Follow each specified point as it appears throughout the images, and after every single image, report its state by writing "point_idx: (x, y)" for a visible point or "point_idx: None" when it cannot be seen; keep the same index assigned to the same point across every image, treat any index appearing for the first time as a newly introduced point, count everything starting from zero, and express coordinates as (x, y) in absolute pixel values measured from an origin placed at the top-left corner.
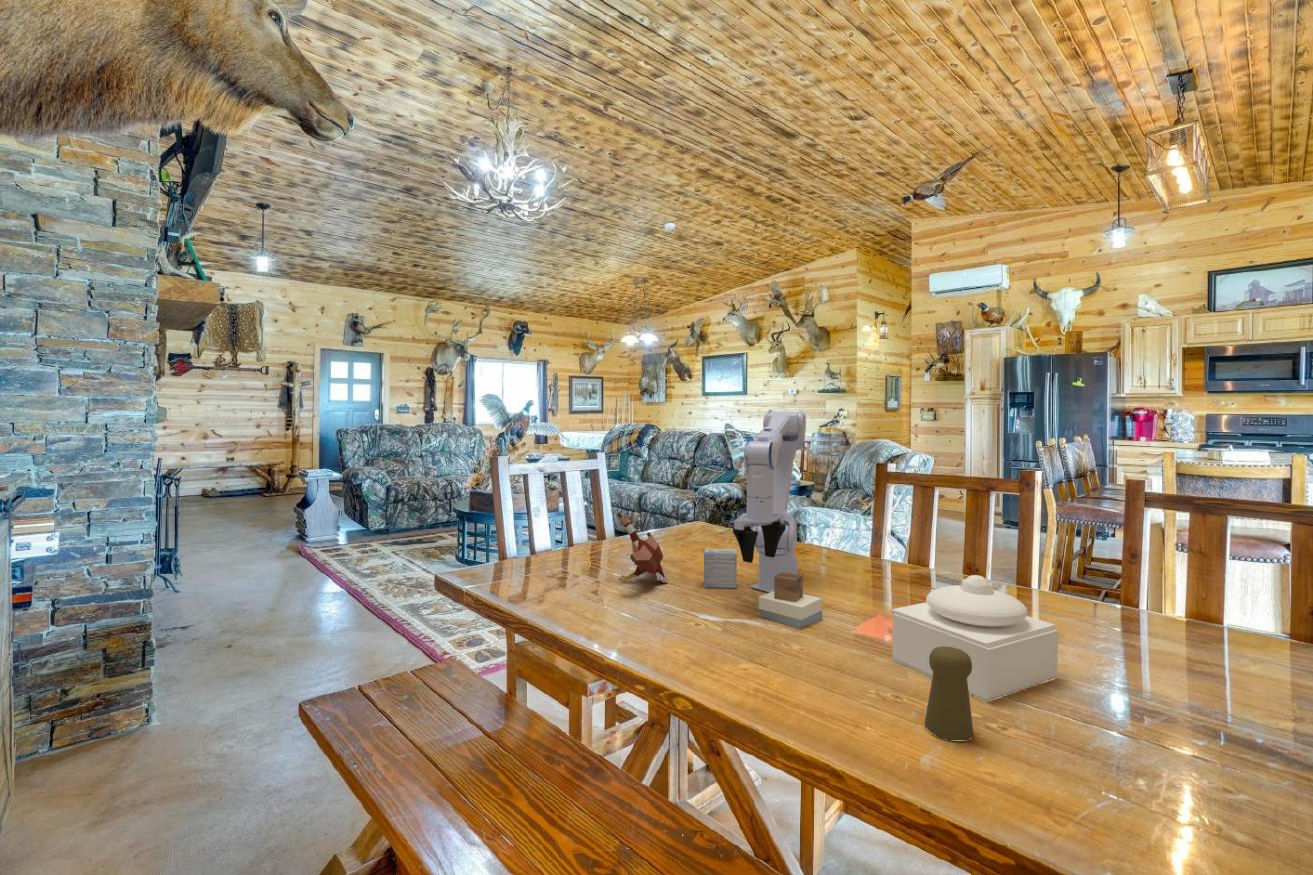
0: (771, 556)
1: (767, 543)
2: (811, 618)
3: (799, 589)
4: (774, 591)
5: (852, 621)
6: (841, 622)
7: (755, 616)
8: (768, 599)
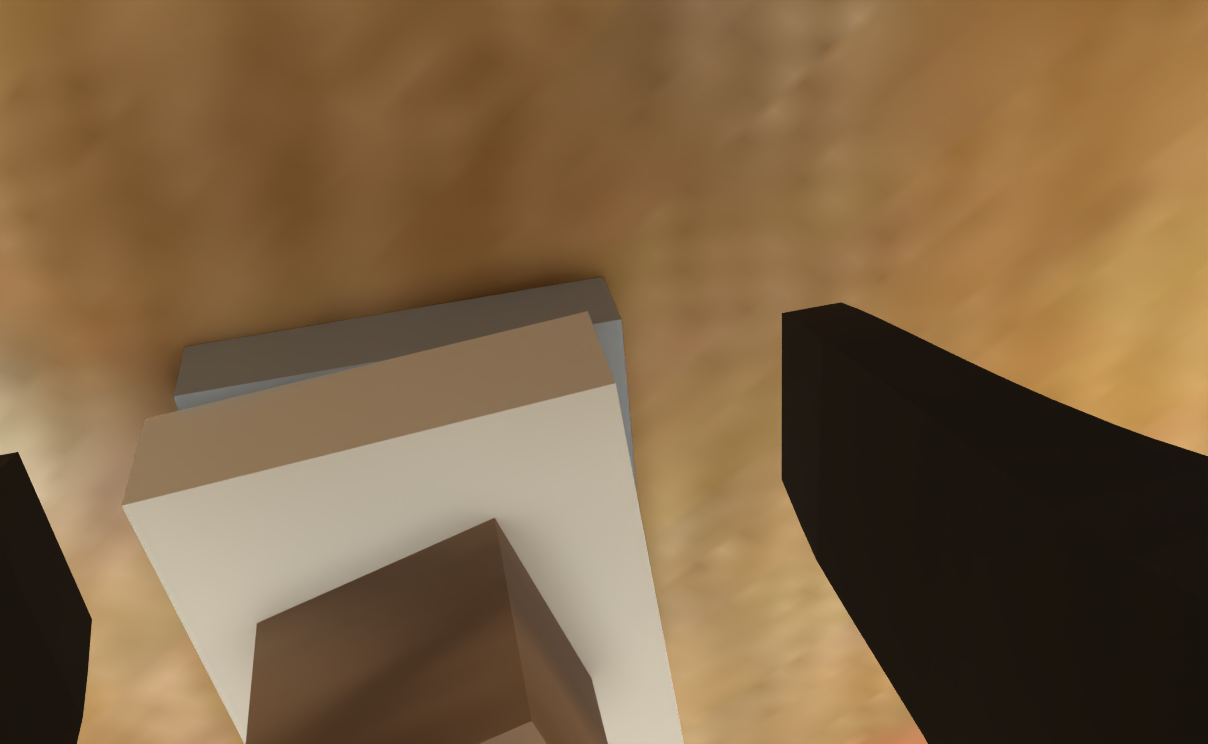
0: (787, 463)
1: (930, 522)
2: None
3: None
4: (252, 688)
5: (778, 738)
6: (697, 726)
7: (135, 342)
8: (177, 610)
